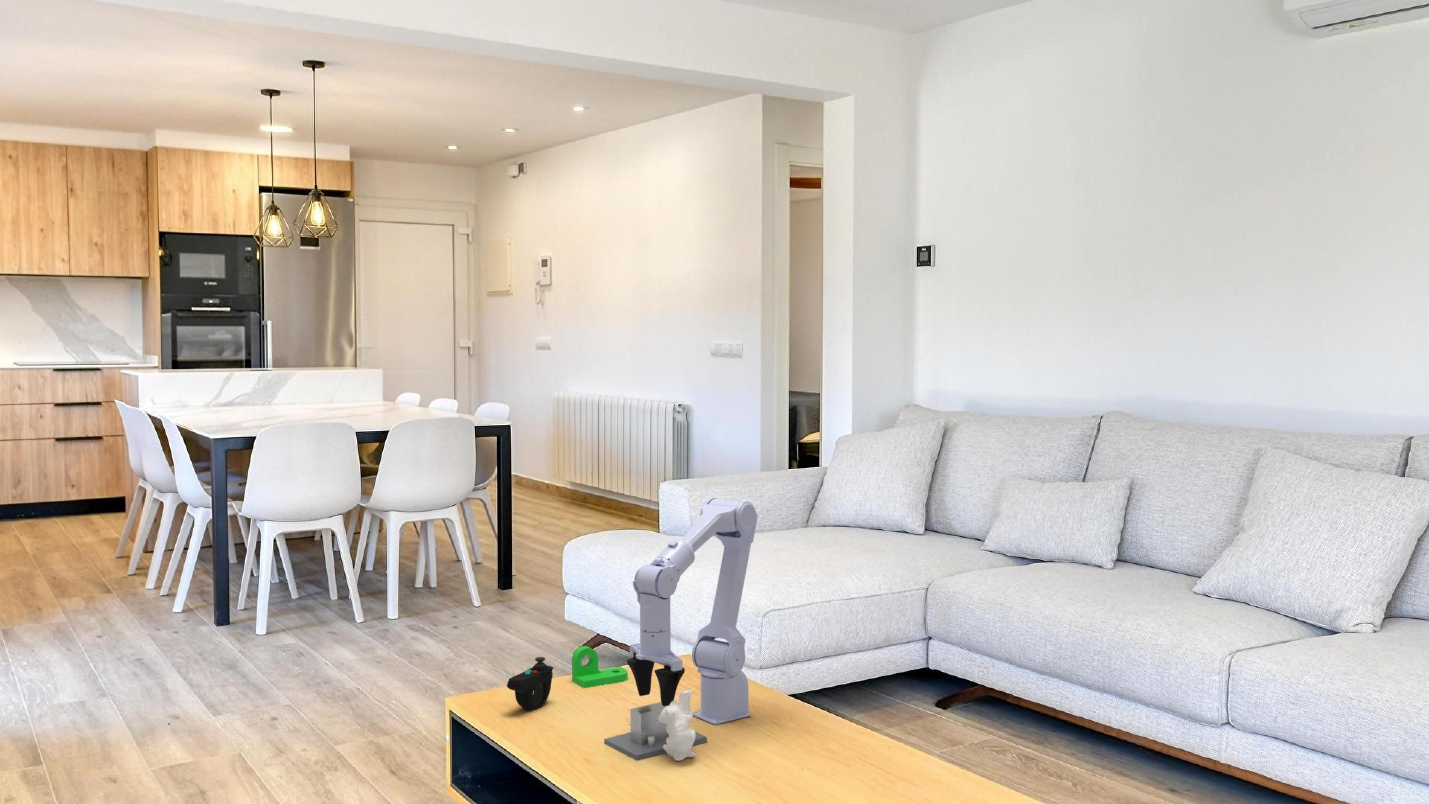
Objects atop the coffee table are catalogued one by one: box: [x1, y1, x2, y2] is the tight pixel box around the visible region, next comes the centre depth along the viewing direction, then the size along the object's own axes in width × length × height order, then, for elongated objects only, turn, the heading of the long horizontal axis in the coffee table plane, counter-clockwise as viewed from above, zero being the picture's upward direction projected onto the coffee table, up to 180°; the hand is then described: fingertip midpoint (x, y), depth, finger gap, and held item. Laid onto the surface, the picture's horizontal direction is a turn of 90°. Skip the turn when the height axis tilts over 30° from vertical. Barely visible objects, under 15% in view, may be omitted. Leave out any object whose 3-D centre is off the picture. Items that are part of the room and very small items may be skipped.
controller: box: [506, 656, 554, 711], centre depth 240 cm, size 4×12×10 cm, turn 153°
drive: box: [629, 701, 670, 746], centre depth 220 cm, size 9×4×6 cm, turn 128°
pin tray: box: [603, 731, 708, 761], centre depth 220 cm, size 16×11×3 cm
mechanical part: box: [571, 645, 629, 689], centre depth 260 cm, size 12×6×8 cm, turn 122°
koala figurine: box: [658, 688, 696, 762], centre depth 213 cm, size 8×7×12 cm
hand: (655, 699), depth 220 cm, fingers open, 7 cm apart
